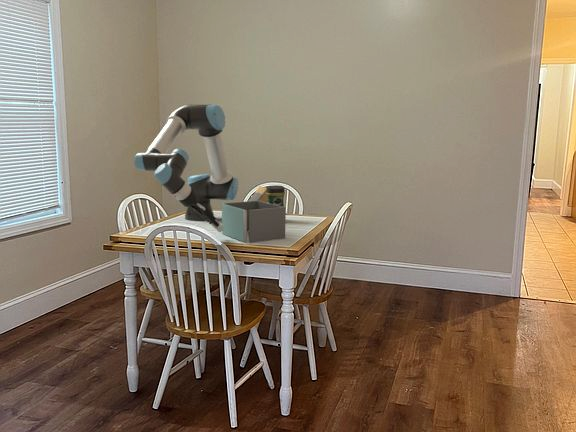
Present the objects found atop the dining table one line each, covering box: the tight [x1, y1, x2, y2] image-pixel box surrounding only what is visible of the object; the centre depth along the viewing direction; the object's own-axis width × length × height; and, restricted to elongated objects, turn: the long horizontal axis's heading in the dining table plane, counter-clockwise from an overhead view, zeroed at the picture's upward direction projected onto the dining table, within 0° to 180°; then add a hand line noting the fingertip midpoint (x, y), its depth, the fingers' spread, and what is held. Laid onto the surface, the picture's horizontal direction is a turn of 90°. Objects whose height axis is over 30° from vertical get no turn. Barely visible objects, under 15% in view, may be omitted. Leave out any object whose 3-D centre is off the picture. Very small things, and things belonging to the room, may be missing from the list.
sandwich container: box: [248, 186, 267, 203], centre depth 308 cm, size 9×15×15 cm, turn 127°
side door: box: [221, 203, 248, 243], centre depth 242 cm, size 1×21×14 cm, turn 34°
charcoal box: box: [223, 201, 287, 244], centre depth 248 cm, size 18×24×14 cm
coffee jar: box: [266, 184, 286, 207], centre depth 287 cm, size 10×8×19 cm
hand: (221, 230), depth 241 cm, fingers closed
